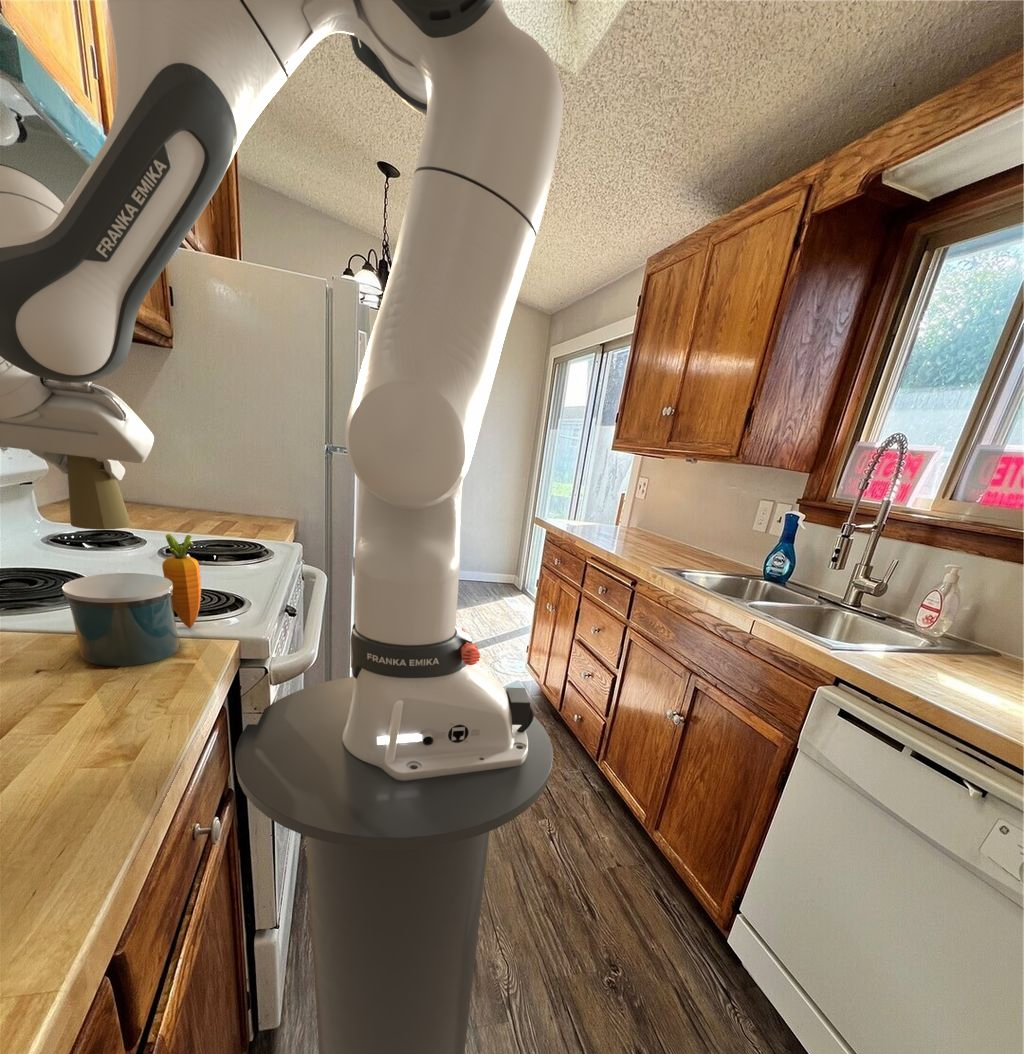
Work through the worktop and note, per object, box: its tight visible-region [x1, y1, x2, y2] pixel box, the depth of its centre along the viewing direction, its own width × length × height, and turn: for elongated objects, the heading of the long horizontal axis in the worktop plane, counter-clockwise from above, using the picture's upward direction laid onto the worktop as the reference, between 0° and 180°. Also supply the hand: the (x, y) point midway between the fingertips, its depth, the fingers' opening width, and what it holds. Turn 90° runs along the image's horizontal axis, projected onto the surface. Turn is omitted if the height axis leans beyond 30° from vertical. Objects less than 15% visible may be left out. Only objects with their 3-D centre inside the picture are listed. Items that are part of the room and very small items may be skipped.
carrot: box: [161, 533, 202, 629], centre depth 86 cm, size 5×5×15 cm
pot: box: [61, 572, 180, 667], centre depth 77 cm, size 12×12×10 cm
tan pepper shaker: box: [65, 454, 132, 530], centre depth 66 cm, size 6×6×11 cm
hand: (95, 472), depth 66 cm, fingers closed on tan pepper shaker, 4 cm apart
